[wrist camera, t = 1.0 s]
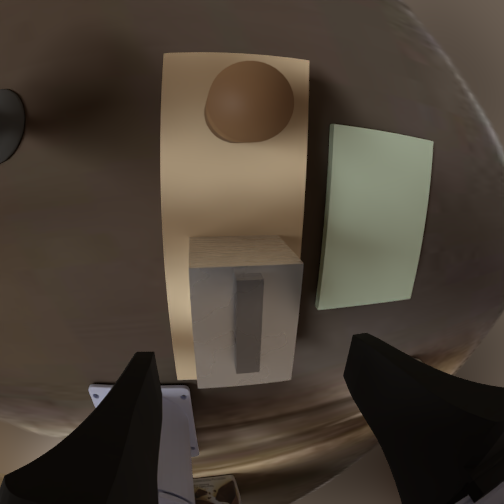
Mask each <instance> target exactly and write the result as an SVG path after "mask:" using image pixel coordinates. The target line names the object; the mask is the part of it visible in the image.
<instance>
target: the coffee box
mask: <svg viewBox="0 0 504 504" xmlns="http://www.w3.org/2000/svg"><path fill="white" fill-rule="evenodd" d="M193 486H194V497H195V504H242V502H241V497H240V493H239V490H238V486H237V483H236V480H235V478H234V475H224V476H216V477H207V478H197V479H193Z"/></svg>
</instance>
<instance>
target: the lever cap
mask: <svg viewBox="0 0 504 504" xmlns="http://www.w3.org/2000/svg"><path fill="white" fill-rule="evenodd" d="M303 267H304V263H303V262H302V261H301V260H300V259H299V258H298V256H297V255H296V254H295V253H294V252H293V251H292V250H291V249H290V248H289V247H288V245H287V244H286V243H285V242H284V241H283V240H282V239H281V238H280V237H279V236H278V235H253V236H216V237H189V285H190V302H191V316H192V330H193V342H194V353H195V364H196V374H197V384H198V389H200V388H217V387H231V386H242V385H253V384H262V383H271V382H279V381H287V380H291V375H292V367H293V359H294V351H295V343H296V335H297V326H298V317H299V308H300V298H301V288H302V278H303Z"/></svg>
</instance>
